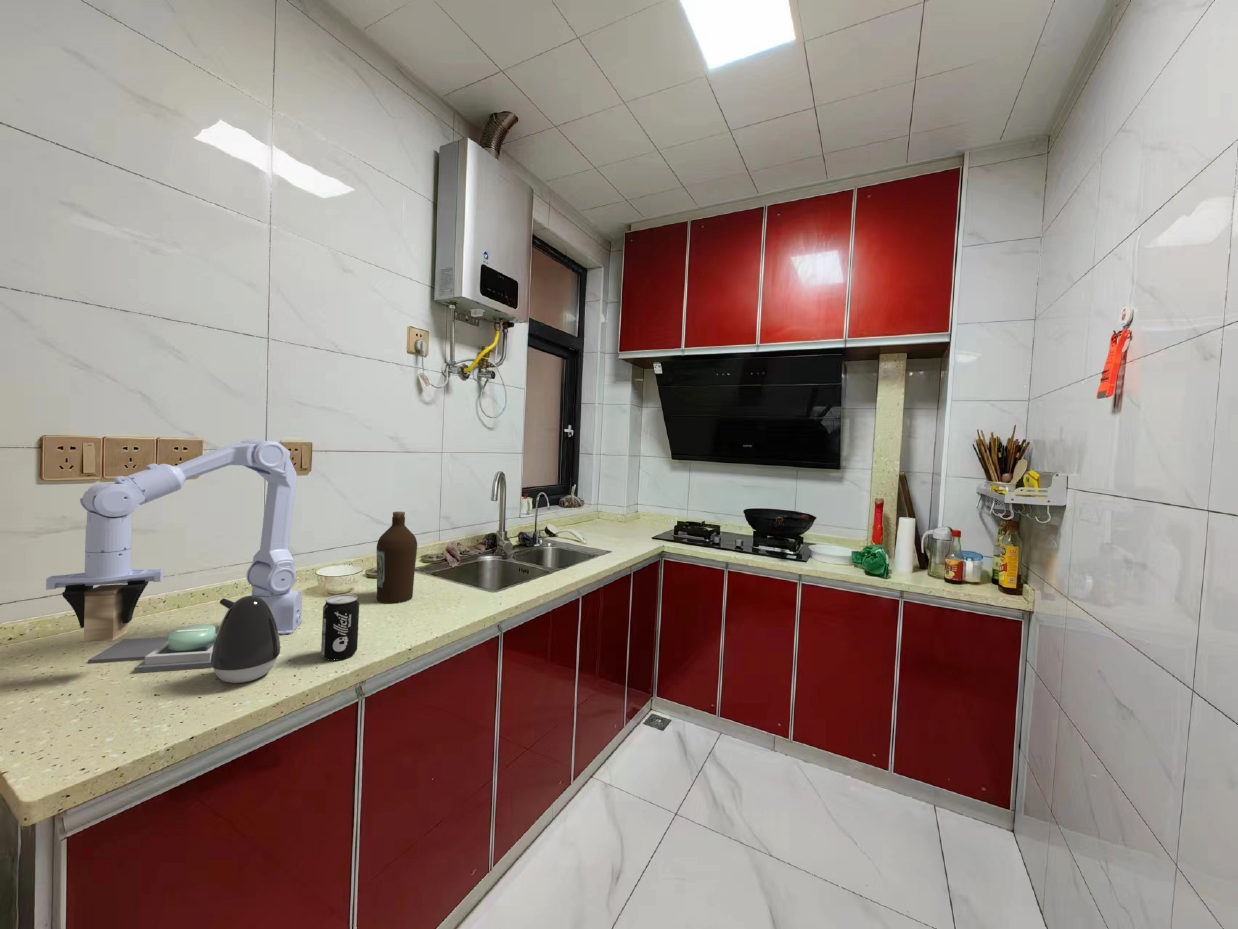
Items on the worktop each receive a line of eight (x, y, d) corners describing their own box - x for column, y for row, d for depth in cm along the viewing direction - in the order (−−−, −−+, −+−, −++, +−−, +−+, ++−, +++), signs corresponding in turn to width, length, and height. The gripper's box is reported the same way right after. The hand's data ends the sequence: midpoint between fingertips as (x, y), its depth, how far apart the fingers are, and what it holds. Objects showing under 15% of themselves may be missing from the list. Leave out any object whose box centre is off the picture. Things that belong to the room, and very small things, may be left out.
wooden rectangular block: (128, 631, 89) (129, 584, 89) (113, 640, 85) (114, 591, 85) (99, 633, 88) (101, 585, 87) (83, 642, 84) (84, 591, 83)
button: (221, 635, 99) (222, 622, 99) (204, 649, 93) (205, 635, 93) (180, 637, 97) (180, 624, 97) (159, 651, 91) (160, 638, 91)
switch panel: (240, 642, 103) (241, 631, 103) (213, 667, 91) (213, 654, 91) (171, 646, 99) (172, 634, 99) (134, 673, 88) (134, 659, 87)
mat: (182, 638, 103) (182, 636, 103) (154, 658, 93) (154, 655, 93) (123, 642, 100) (123, 639, 100) (88, 663, 90) (88, 660, 90)
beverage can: (364, 651, 102) (366, 596, 102) (337, 664, 96) (339, 605, 95) (341, 646, 104) (343, 591, 104) (313, 657, 98) (315, 600, 97)
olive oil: (410, 591, 144) (414, 509, 143) (418, 601, 136) (422, 514, 135) (371, 595, 138) (375, 510, 137) (377, 606, 129) (381, 515, 129)
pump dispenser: (240, 662, 94) (243, 586, 94) (292, 666, 94) (295, 590, 93) (193, 687, 84) (196, 602, 83) (250, 692, 84) (253, 607, 83)
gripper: (168, 543, 93) (166, 611, 94) (60, 547, 85) (58, 621, 86) (158, 550, 87) (156, 623, 88) (40, 556, 79) (38, 636, 80)
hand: (106, 623), depth 86 cm, fingers closed on wooden rectangular block, 5 cm apart
